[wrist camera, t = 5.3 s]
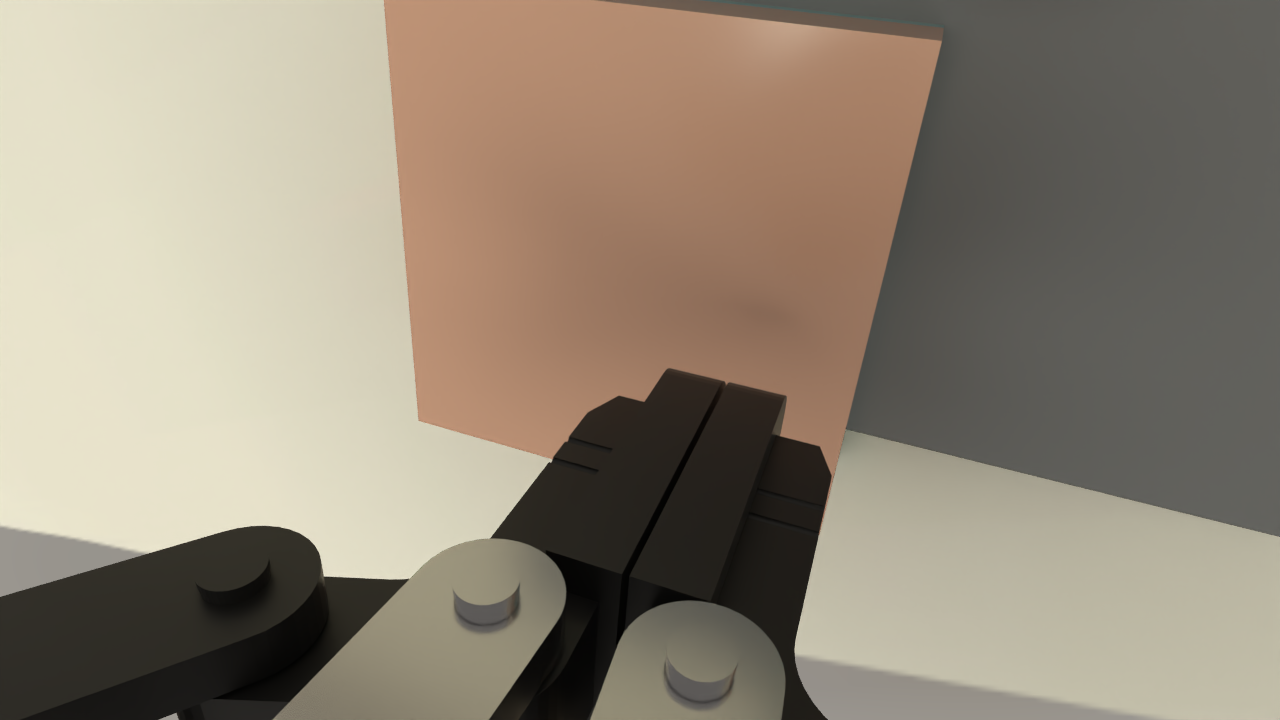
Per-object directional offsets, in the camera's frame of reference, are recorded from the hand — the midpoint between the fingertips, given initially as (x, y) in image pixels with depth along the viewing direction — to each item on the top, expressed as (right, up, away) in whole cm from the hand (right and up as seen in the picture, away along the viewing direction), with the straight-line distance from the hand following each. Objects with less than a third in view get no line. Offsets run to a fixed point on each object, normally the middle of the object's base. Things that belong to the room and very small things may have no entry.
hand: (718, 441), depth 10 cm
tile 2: (+3, +2, +4) cm, 6 cm away
